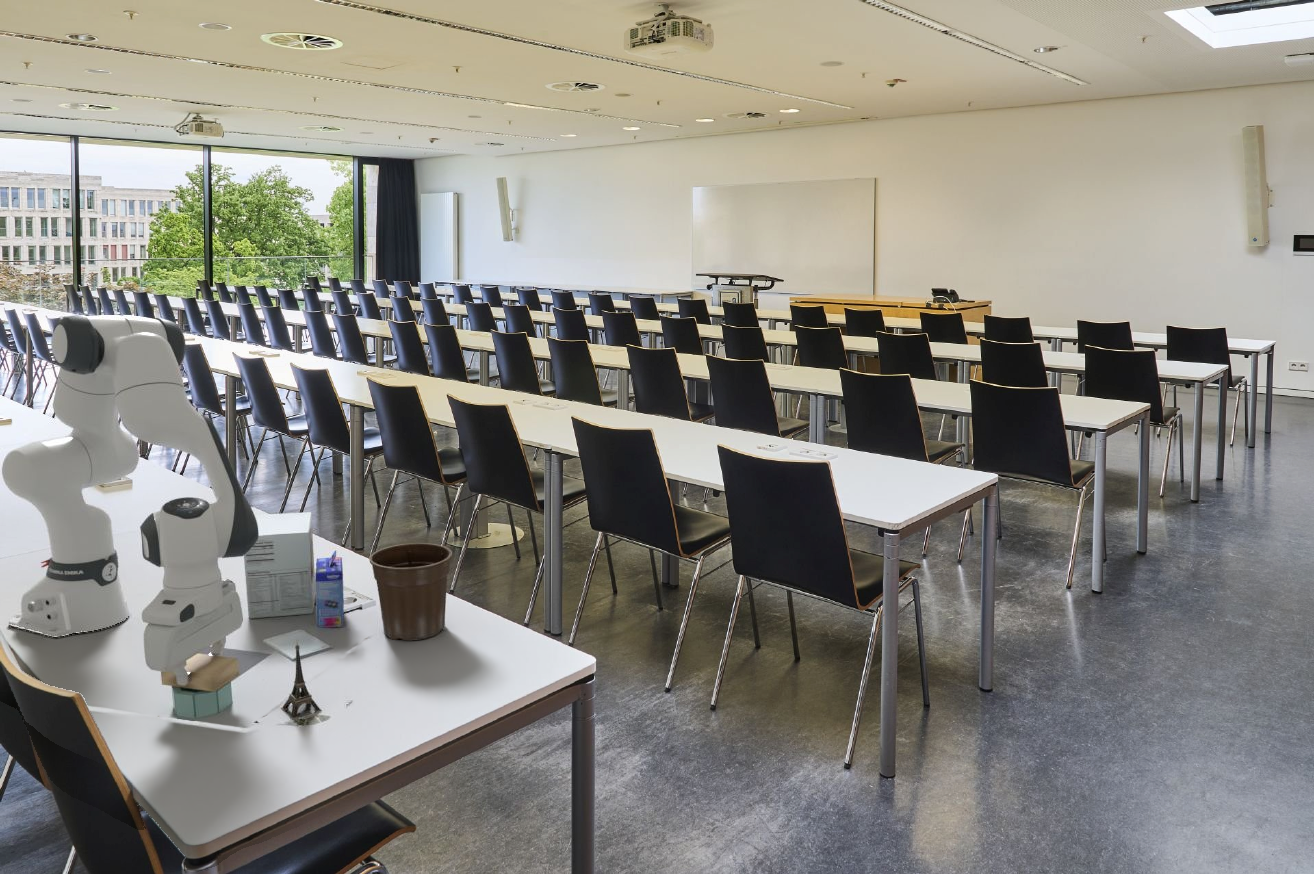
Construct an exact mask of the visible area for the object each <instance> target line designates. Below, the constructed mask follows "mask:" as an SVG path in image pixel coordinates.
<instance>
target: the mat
mask: <svg viewBox="0 0 1314 874" xmlns="http://www.w3.org/2000/svg"><path fill="white" fill-rule="evenodd" d="M211 648H212V645H211V646H209V647H208V648H206V649H204V650H203V651H201V652H200V653H198V654H206V655H209V654H210V653H211ZM271 655H272V653H268V652H258V651H251V650H245V649H243V650H242V649H241V650H240V649H234V648H227V647H224V649H223V652H222V657H230V658H238V666H239V675H238V676H237V677H235V678H234V679H232V680H231V682H232V681H234V680H235V679H238V677H240V676H242V675H243V674H244V673H246V672H248V671H249V670H250V669H252V668H254V666H256V665H257V664H259V663H260V662H262V661H264V660H265V659H267V658H268V657H269V656H271Z"/></svg>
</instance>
